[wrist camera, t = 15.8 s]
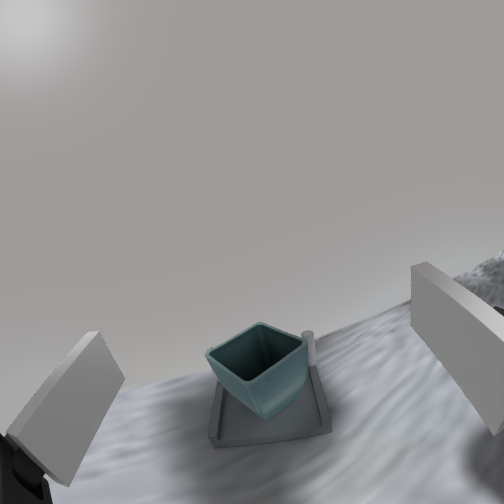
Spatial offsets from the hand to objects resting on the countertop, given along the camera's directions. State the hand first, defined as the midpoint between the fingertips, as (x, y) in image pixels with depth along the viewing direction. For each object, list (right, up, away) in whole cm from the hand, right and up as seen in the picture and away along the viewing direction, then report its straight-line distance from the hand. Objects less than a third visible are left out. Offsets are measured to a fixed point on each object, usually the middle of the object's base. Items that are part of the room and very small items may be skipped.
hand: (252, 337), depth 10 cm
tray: (+2, -17, +23) cm, 29 cm away
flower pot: (+2, -16, +22) cm, 28 cm away
